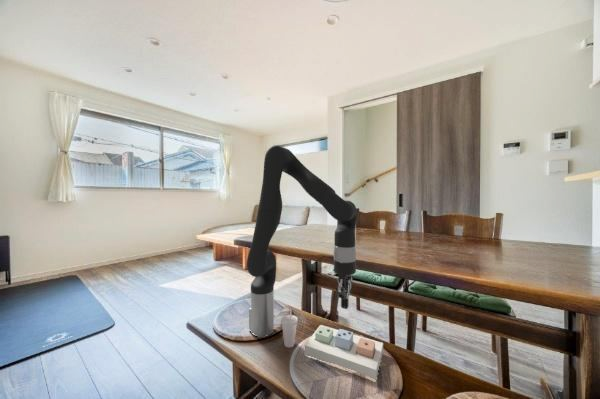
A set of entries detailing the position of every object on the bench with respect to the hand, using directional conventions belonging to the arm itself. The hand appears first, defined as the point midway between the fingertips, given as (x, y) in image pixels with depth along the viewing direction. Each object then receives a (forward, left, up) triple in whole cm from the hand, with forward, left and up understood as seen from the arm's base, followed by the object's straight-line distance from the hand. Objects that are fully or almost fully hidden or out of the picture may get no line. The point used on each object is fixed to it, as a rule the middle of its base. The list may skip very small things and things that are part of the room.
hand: (344, 307), depth 81 cm
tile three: (0, 0, -15) cm, 15 cm away
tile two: (-8, 0, -17) cm, 18 cm away
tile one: (+7, 0, -16) cm, 18 cm away
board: (0, 0, -17) cm, 17 cm away
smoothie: (-20, -4, -17) cm, 27 cm away
